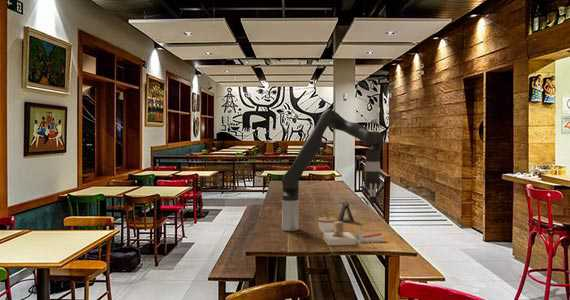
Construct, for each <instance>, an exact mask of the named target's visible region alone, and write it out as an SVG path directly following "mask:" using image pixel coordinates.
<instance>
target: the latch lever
mask: <svg viewBox="0 0 570 300" xmlns="http://www.w3.org/2000/svg"><path fill="white" fill-rule="evenodd" d="M359 236H363V238H375V237H380V236H382V232H381V231H376V232H369V233H364V234H363V233H362V234H361V235H358V238H359Z"/></svg>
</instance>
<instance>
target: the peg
mask: <svg viewBox="0 0 570 300" xmlns="http://www.w3.org/2000/svg"><path fill="white" fill-rule="evenodd" d="M343 232H344V222H342V221H339V220H337V221H334V232H333V233H334V237H343Z"/></svg>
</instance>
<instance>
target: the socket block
mask: <svg viewBox="0 0 570 300" xmlns="http://www.w3.org/2000/svg"><path fill="white" fill-rule="evenodd" d="M355 238H356V237H355V236H354V235H352V233H351V232H349V231H343V237H334V232H333V233H322V239H323V241H324V242H325V243H326V245H327V246H348V245H349V246H350V245H352V246H353V245H354V246H355V245H357V241H356V239H355Z"/></svg>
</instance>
